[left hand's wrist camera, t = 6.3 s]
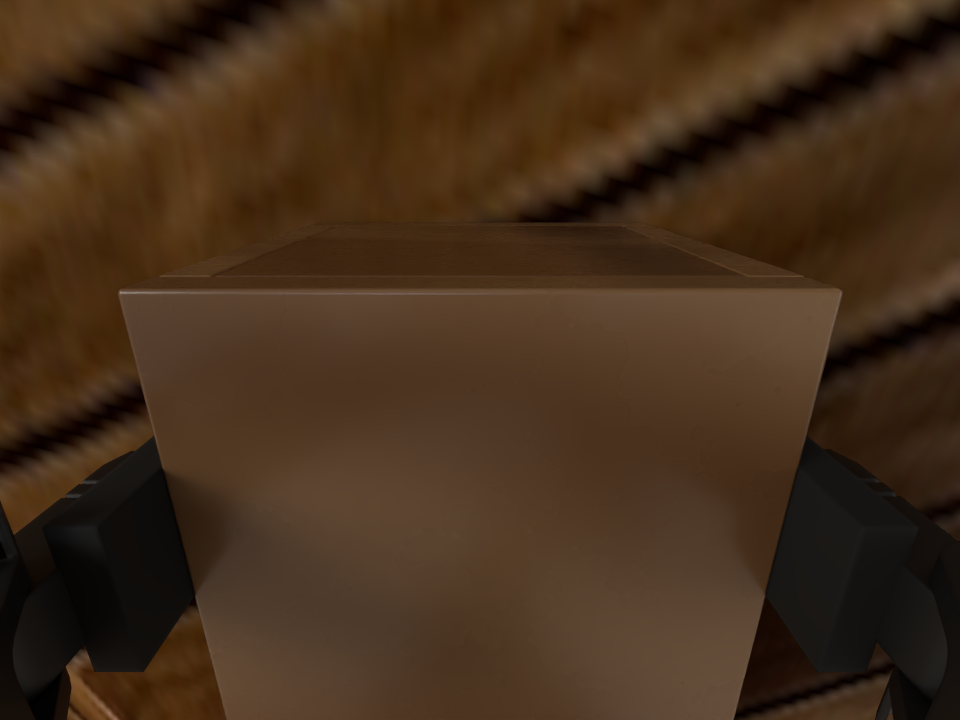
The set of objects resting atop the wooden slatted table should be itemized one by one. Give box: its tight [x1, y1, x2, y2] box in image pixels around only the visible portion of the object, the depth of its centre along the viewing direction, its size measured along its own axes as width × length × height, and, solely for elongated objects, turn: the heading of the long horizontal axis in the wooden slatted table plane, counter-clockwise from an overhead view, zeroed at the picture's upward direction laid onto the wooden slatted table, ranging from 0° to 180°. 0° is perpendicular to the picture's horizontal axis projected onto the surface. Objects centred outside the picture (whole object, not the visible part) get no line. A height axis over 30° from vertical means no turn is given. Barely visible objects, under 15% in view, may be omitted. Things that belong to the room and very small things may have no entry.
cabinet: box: [118, 223, 843, 720], centre depth 15 cm, size 22×10×10 cm, turn 0°
